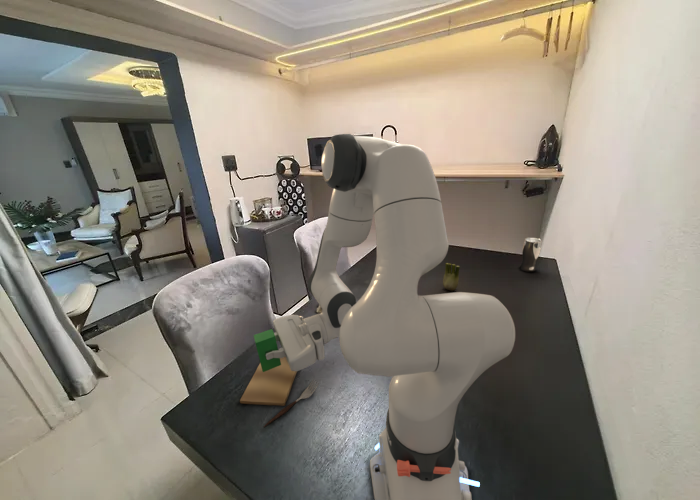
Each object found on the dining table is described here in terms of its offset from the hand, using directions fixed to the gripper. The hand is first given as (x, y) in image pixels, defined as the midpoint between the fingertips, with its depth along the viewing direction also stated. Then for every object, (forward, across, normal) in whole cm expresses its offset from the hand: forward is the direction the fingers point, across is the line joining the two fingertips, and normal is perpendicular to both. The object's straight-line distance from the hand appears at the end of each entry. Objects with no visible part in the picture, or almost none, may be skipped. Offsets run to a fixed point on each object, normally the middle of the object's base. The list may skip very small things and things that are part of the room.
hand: (263, 350), depth 71 cm
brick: (-1, 0, +6) cm, 6 cm away
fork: (-3, +11, +11) cm, 16 cm away
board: (-1, 0, +11) cm, 11 cm away
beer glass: (-123, -1, +11) cm, 123 cm away
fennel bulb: (-46, -11, +7) cm, 47 cm away
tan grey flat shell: (-26, -25, +11) cm, 38 cm away
